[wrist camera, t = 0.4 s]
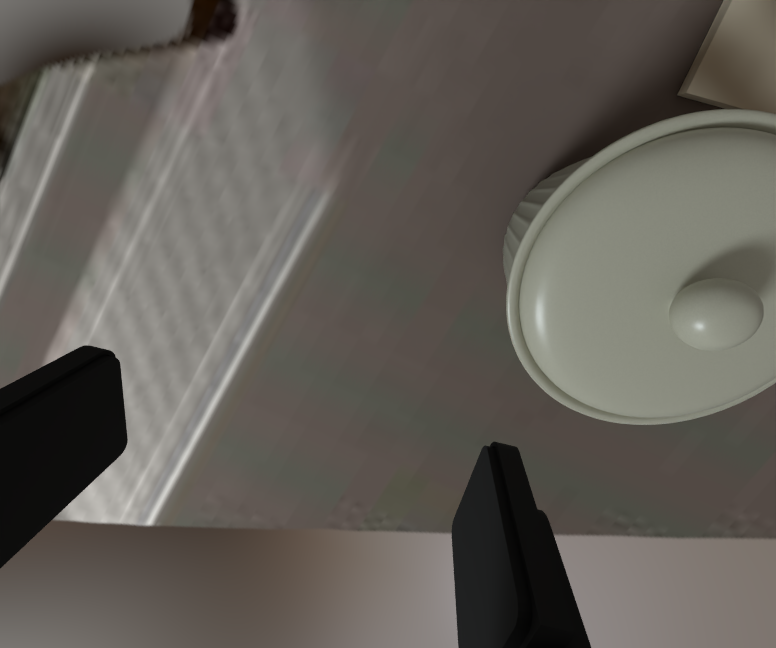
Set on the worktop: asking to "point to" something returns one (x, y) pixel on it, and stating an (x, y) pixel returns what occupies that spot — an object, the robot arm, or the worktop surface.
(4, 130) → the worktop surface
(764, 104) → the birch board
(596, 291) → the canister
